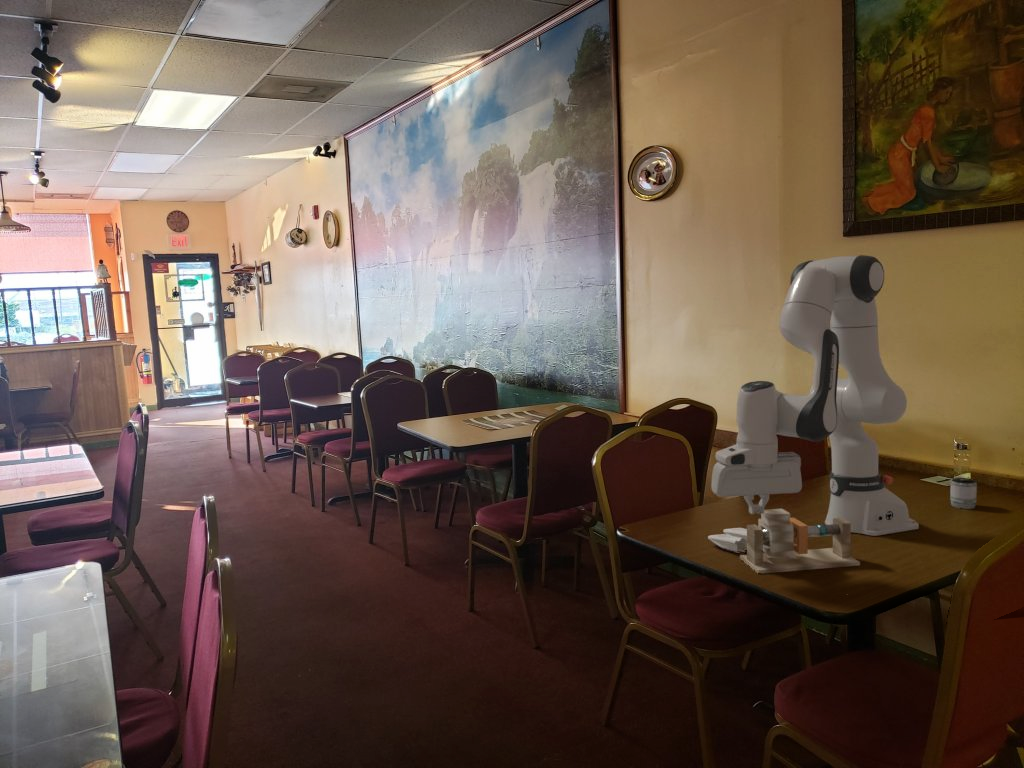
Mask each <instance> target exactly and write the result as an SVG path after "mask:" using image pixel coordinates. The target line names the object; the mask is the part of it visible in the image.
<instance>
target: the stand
mask: <svg viewBox="0 0 1024 768" xmlns="http://www.w3.org/2000/svg"><path fill="white" fill-rule="evenodd" d="M833 524H838V525H839V527H840V530H841V532H840V534H839V535H832V547H828V548H816V549H815V548H813V549H808V554H798V553H797V552H795V551H794V556H790V557H778V558H772V557H770V556H769V555H768V554H766V553H765V552H764V551H763V529H761V528H760V527H758V525H757V524H746V529H747V551H746V554H739V559H740V560H741V561H742V560H743V561H744V562H743V561H742V562H743V563H745V564H746V565H747V566H748V565H749V566H750V568H751V569H752V570H753V571H754V570H755V571H754V572H755V573H757V574H758V573H761V574H773V573H785V572H794V571H795V572H797V571H806V570H808V571H809V570H819V569H831V568H832V569H833V568H845V567H855V566H857V567H858V566H861V562H860V560H857V559H856V558H854V557H853V556H851V547H852V545H851V541H852V540H851V537H852V536H851V533H852V532H851V523H850V522H848V521H846V520H844V519H842V518H835V519H833ZM749 566H748V567H749Z"/></svg>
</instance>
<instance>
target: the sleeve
mask: <svg viewBox="0 0 1024 768" xmlns="http://www.w3.org/2000/svg"><path fill="white" fill-rule="evenodd" d="M760 516H761V517H760V518H758V523H757V524H758V525H757V526H758V527H760V528H761V529H763V530H765V529H767V530H768V531H770V540H767V541H763V553H766V554H768V555H769V556H770V557H772V558H778V557H790V556H794V540H793V526H792V525H791V524H790V518H791V513H790V512H789V511H787V510H786V509H783V508H772V509H764V513H763V514H760Z"/></svg>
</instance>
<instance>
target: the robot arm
mask: <svg viewBox="0 0 1024 768" xmlns="http://www.w3.org/2000/svg"><path fill="white" fill-rule="evenodd" d="M789 281H790V284H789V285H790V287H789V288H788V291H787V293H786V296H785V299H784V302H783V306H782V309H781V312H780V317H779V324H778V329H779V331H780V333H781V335H782V337H783V338H784V339H785V340H786V342H788V343H789V344H791V346H794V347H795V348H797V349H799V350H801V351H804V352H805V353H808V354H810V355H812V357H813V359H814V361H813V362H814V364H813V365H814V366H813V378H812V386H811V387H810V389H809V392H808V394H807V395H800V394H799V395H798V394H788V393H783V392H781V391H779V390H777V389H776V385H775V384H774V383H773V382H772V381H767V380H756V381H749V382H747V383H744V384H743V385H742V386H740V388H739V392H738V396H737V403H736V425H737V429H738V432H737V436H736V443H734V444H733V445H731V446H728V447H726V448H722V449H720V450H718V451H716V452H715V460H716V461H717V462H716V463H715V464H714V466H713V467H712V472H711V473H712V474H711V491H712V492H713V494H714V495H716V496H717V497H719V498H724V497H743V499H744V501H745V502H746V504H747V505H748V513H749V514H750V515H757V514H758V515H761V514H763V513H764V510H765V506H766V505H767V503H768V502H769V500H770V495H776V494H777V495H779V494H798V493H799V492H801V490H802V488H803V482H802V481H803V480H802V472H801V467H802V460H801V459H802V458H801V457H800V455H799V454H798V453H796V452H794V451H788V452H786V451H785V452H782V451H781V452H779V451H778V449H779V447H778V443H779V442H778V440H779V439H778V437H777V435H780V436H784V437H792V438H798V439H799V438H800V439H803V440H806V441H809V442H810V441H811V442H815V443H819V442H821V441H823V440H825V439H827V438H829V441H830V448H831V450H830V451H831V471H829V489H830V490H829V492H830V497H829V499H830V500H829V505H828V509H827V514H826V518H825V520H824V525H830V524H833V519H835V518H842V519H844V520H846V521H848V522H850V523H851V533H855V534H856V533H857V534H863V535H867V536H872V537H873V536H874V537H876V536H877V537H878V536H882V535H888V534H895V533H901V532H902V533H903V532H908V531H915V530H919V528H920V527H919V522H917V521H916V520H914V519H912V518H910V515H909V509H908V506H907V503H906V502H905V501H904V500H902V499H901V498H900V497H899V496H897V495H896V494H895V493H893V492H891V491H890V489H888V488H886V486H885V484H887V485H892V483H893V482H894V478H893V477H892V476H889V475H887V474H885V475H883V474H881V473H879V446H878V443H877V442H876V440H874V438H873V437H871V436H870V435H868V433H867V432H866V431H865V429H864V427H863V424H862V423H866V424H872V425H881V424H893V423H896V422H898V421H899V420H900V419H901V418H902V417H903V416H904V414H905V412H906V410H907V405H908V404H907V403H908V400H907V396H906V393H905V392H904V390H903V389H902V388H901V387H900V386H899V385H898V384H897V383H896V382H894V381H893V379H892V378H891V377H890V375H889V373H887V370H886V369H885V366H884V364H883V362H882V359H881V354H880V345H879V322H878V321H879V319H878V317H879V316H878V308H877V303H876V298H875V297H877V296H878V294H879V293H880V292H881V290H882V288H883V286H884V283H885V269H884V266H883V264H882V263H881V261H879V259H878V257H875V256H871V255H865V254H864V255H863V254H860V255H857V256H855V255H845V256H844V255H843V256H842V255H841V256H840V255H839V256H834V257H829V258H821V259H817V260H807V261H804V262H801V263H799V264H798V265H797V266H796V267H795V269H793V271H792V273H791V276H790V280H789ZM839 365H840V366H842V368H843V369H844V370H845V372H846V374H847V376H848V378H845V377H843V378H842V377H839V367H840V366H839ZM755 496H759V497H760V500H759V502H758V503H757V504H754V503H753V500H754V498H755Z"/></svg>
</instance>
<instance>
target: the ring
mask: <svg viewBox="0 0 1024 768" xmlns="http://www.w3.org/2000/svg"><path fill="white" fill-rule="evenodd" d="M790 524H791V525H792V526H793V527H794V528H796V529H797V538H793V540H794V551H795V552H797V553H798V554H808V550H809V548H808V546H809V542H808V538H809V537H808V526H809V525H807V524H806V523H803V522H802V521H800V520H798V519H797V518H795V517H790Z"/></svg>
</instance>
